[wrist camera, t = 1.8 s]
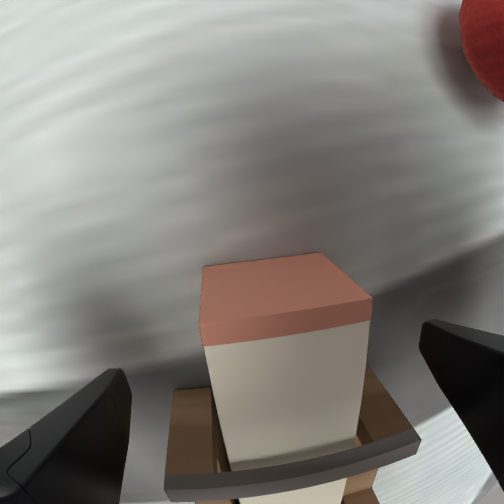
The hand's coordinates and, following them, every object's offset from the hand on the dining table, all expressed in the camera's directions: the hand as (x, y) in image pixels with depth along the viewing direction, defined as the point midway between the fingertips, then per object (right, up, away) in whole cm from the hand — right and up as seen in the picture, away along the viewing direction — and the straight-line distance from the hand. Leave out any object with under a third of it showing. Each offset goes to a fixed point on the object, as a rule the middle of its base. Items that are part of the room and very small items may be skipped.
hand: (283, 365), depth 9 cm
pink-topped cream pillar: (0, -4, +4) cm, 6 cm away
